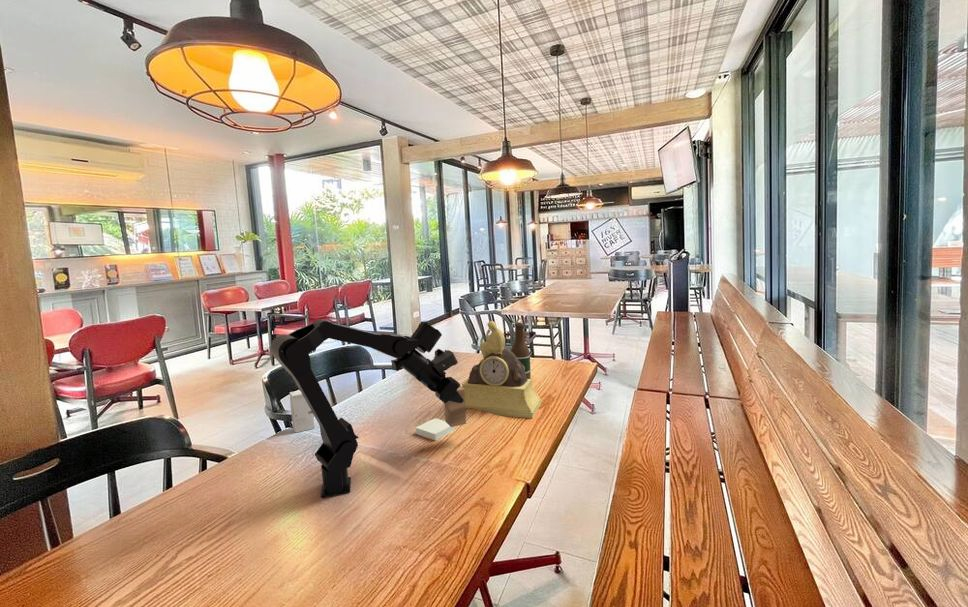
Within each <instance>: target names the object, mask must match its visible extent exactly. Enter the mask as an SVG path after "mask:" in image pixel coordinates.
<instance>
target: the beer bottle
mask: <svg viewBox="0 0 968 607" xmlns="http://www.w3.org/2000/svg"><path fill="white" fill-rule="evenodd" d="M514 327H515V332H514V333H515V335H514V337H515V338H514V343H513V344H512V347H511V350H510V351H511V352H513V353H514V355H515V356H516V357H517V359H518V360H519V361H520V362H521V363H522V364H523V365H524V367H525V374H526V377H527V379H532V378H531V354H530V352H531V351H530V348H529V346H528V345H527V344H526V340H525V330H524V329H525V328H524V327H525V325H524V323H523V322H516V323H515V324H514Z"/></svg>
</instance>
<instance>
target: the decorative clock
mask: <svg viewBox="0 0 968 607" xmlns="http://www.w3.org/2000/svg"><path fill="white" fill-rule="evenodd" d="M486 325H487V327H488V330H486V335H485V340H486V341H482V342H480V343H479V346H480V353H481V355H482V357H483V359H481V360H480V361H479V362H478V364H474V365H473V366H472V367H471V370H470V372H469V374H468V375H469V376H468V379H466V380H465V381H464V382H463V383H462V384H461V387H463V388H464V389H465V407H466V409H475V410H477V411H481V412H485V413H489V414H491V415H497V416H505V417H516V418H525V419H526V418H527V419H534V418H535V415H536V413H537V412H538V410H539V408H540V406H541V405H542V398H540V396H539V395H538V393H537V392H535V390H534V388H533V380H532V378H530V379H527V377H526V374H525V367H524V365H523V364H522V363H521V362H520V361H519V360H518V359H517V357H516V356H515V355H514V353H513V352H511V350H510V349H509V348H505V347H506V338H505V335H504V332H502V330H501V329H500V328H499V327H498V326H497V324H496V322H495V321H493V320H490V321H488V322H487V324H486ZM490 332H491V333H490ZM489 333H490V335H489Z"/></svg>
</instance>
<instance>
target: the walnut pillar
mask: <svg viewBox="0 0 968 607" xmlns="http://www.w3.org/2000/svg"><path fill="white" fill-rule="evenodd" d="M457 392H458V393H459V394H460V396H461V397H462V398H463V400H464V401H463V402H462V403H457V402H452V401H448V402H447V403H444V402H443V403H444V421H445V422H446V423H447V424H448V425H449V426H450V427H454V426H455V427H457V426H464V425H466V424H467V415H466V414H467V413H466V409H467V408H466V407H465V389H464V388H463V387H462V385H460V387H459V388H458V389H457Z"/></svg>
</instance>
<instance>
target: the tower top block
mask: <svg viewBox="0 0 968 607" xmlns="http://www.w3.org/2000/svg"><path fill="white" fill-rule="evenodd" d="M455 427H456V426H454V427H450V426H449V425H448V424H447V423H446V422H445V420H442V419H439V418H437V417H435V418H433V419H431V420H429V421H427V422H425V423H422V424H421V425H418V426H416V427H415V434H416V435H418V436H421V437H424V438H427V439H430V440H432V441H438V440H441V439H442V438H445V436H447V435H449V434H451V433H452V432H455V430H456V428H455Z"/></svg>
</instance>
